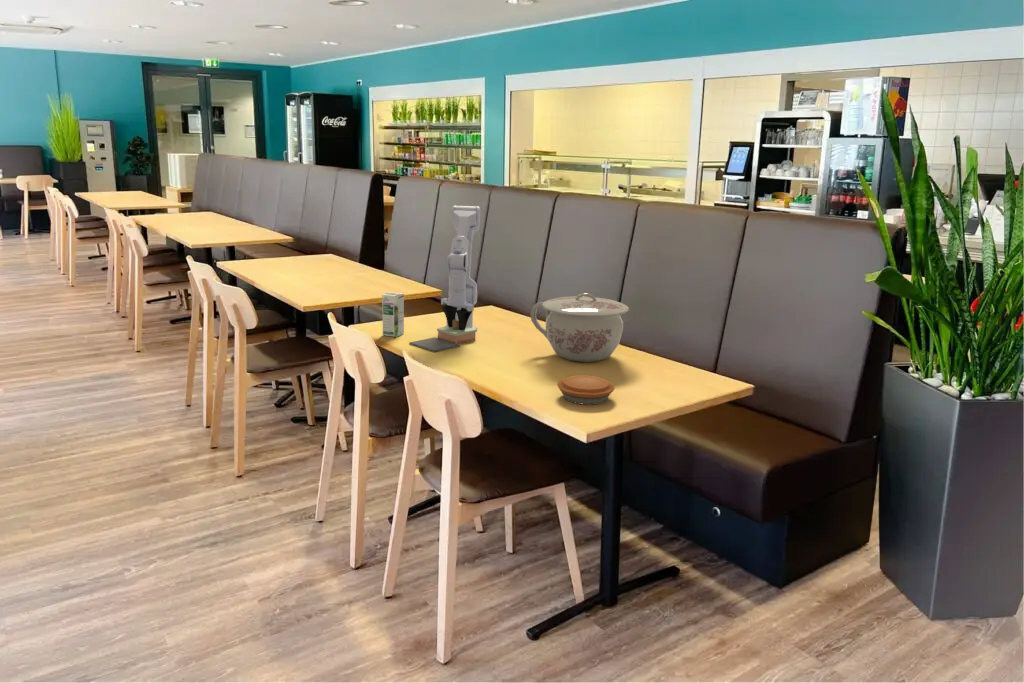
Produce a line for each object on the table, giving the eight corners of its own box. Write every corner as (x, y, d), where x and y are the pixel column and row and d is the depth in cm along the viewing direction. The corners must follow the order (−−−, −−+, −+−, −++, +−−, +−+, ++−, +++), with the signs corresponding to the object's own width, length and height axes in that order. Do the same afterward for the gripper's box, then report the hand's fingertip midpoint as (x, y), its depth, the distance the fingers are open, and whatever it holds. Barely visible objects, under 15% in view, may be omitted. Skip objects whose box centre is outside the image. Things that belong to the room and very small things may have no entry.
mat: (409, 344, 257) (409, 342, 257) (435, 338, 265) (435, 337, 265) (434, 352, 248) (434, 350, 248) (460, 346, 256) (460, 344, 256)
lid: (436, 330, 264) (436, 319, 263) (458, 326, 270) (458, 315, 269) (455, 336, 257) (455, 325, 256) (476, 331, 264) (476, 320, 263)
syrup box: (382, 335, 267) (381, 294, 263) (389, 332, 272) (389, 291, 269) (397, 337, 265) (396, 295, 262) (404, 333, 271) (404, 292, 267)
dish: (438, 339, 264) (438, 330, 264) (457, 335, 271) (458, 326, 270) (455, 344, 258) (455, 335, 258) (475, 340, 265) (475, 331, 264)
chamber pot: (643, 362, 244) (648, 297, 239) (573, 373, 230) (576, 305, 225) (589, 341, 267) (593, 282, 262) (522, 350, 253) (524, 288, 248)
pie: (592, 386, 219) (593, 369, 218) (625, 403, 206) (626, 385, 205) (545, 393, 212) (546, 375, 211) (576, 411, 199) (577, 392, 198)
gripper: (434, 287, 262) (434, 326, 266) (462, 293, 252) (462, 334, 256) (450, 284, 267) (449, 323, 271) (478, 291, 257) (477, 331, 261)
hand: (456, 328), depth 263 cm, fingers open, 5 cm apart
